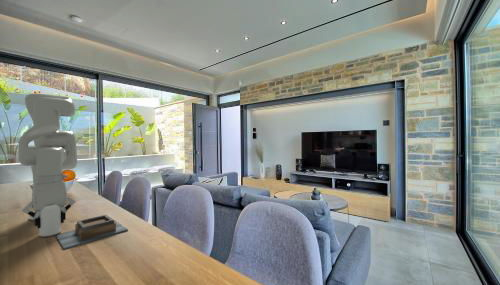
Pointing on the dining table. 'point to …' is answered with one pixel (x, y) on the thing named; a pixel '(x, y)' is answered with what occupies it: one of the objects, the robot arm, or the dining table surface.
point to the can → (50, 220)
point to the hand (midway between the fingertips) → (50, 224)
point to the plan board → (77, 241)
